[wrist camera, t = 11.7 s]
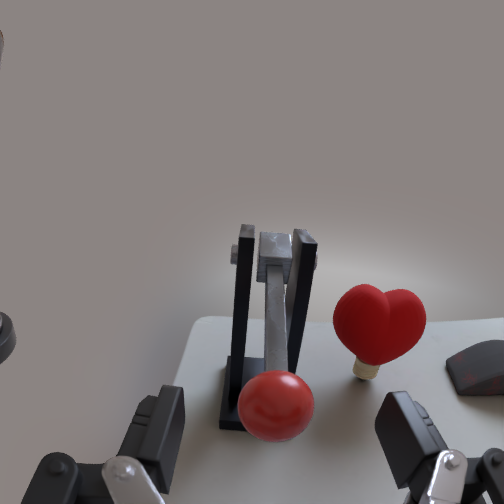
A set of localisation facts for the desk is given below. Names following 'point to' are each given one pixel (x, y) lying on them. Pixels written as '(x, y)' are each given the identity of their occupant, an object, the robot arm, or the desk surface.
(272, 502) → the desk surface
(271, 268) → the lever
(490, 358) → the computer mouse
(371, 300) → the light bulb
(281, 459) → the desk surface
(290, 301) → the bracket
